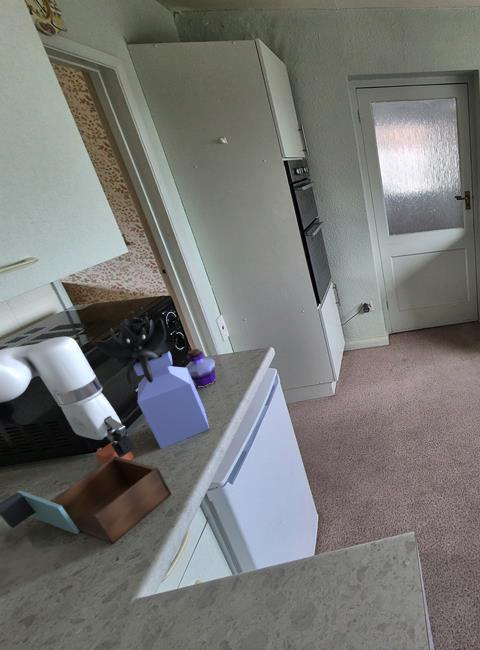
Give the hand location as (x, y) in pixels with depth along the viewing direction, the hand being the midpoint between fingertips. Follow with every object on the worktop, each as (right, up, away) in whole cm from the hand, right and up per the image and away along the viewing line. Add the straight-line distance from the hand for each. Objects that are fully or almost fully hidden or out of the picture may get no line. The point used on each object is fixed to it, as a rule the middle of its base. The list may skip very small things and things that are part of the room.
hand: (113, 449), depth 91 cm
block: (0, -4, +1) cm, 4 cm away
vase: (+9, +1, +11) cm, 14 cm away
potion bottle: (+2, +10, +32) cm, 33 cm away
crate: (+12, -8, -11) cm, 19 cm away
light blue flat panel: (+1, -11, -16) cm, 19 cm away
